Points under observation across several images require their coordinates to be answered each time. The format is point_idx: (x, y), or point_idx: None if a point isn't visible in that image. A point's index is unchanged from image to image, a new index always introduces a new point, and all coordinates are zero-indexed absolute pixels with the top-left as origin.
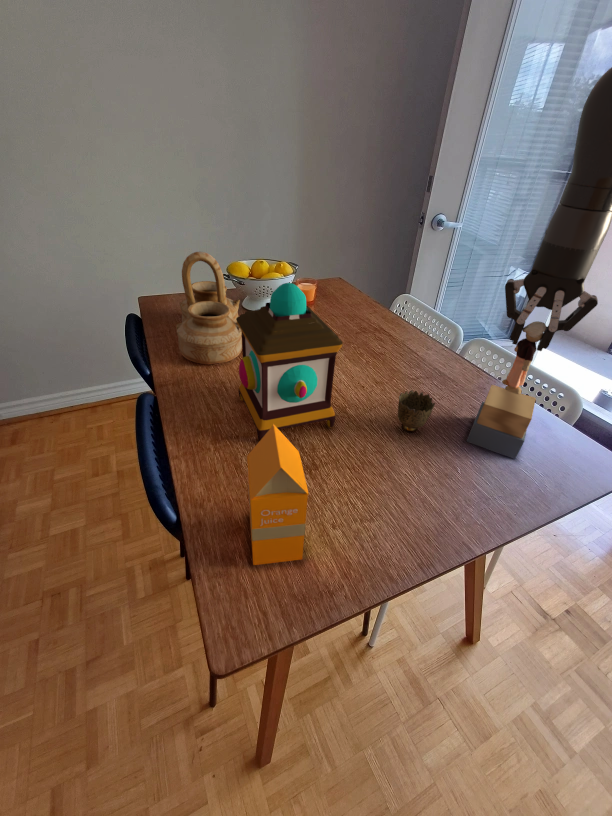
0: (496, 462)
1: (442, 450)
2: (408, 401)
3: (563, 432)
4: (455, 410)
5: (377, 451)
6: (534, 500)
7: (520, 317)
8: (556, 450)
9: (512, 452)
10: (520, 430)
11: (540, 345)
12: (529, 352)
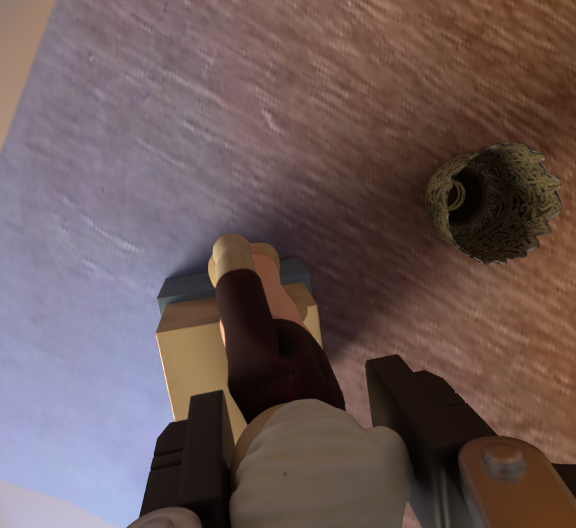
0: (201, 228)
1: (336, 171)
2: (512, 232)
3: (100, 490)
4: None
5: (478, 35)
6: (68, 147)
7: (543, 481)
8: (90, 398)
9: (177, 280)
10: (177, 310)
11: (212, 408)
12: (256, 311)
